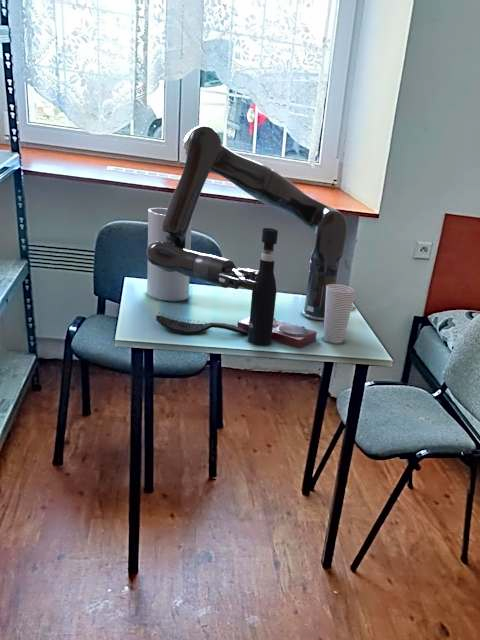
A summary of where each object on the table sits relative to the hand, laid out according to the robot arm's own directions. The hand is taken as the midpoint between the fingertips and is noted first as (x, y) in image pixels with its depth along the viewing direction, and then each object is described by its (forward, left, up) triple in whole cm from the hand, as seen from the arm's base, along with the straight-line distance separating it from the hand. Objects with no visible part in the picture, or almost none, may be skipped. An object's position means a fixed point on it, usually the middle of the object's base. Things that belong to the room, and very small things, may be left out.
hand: (265, 284), depth 175 cm
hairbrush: (+5, -16, -16) cm, 23 cm away
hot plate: (-10, 0, -16) cm, 19 cm away
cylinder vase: (-15, -42, -16) cm, 48 cm away
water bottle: (0, 0, -16) cm, 16 cm away
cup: (-19, +14, -16) cm, 28 cm away
